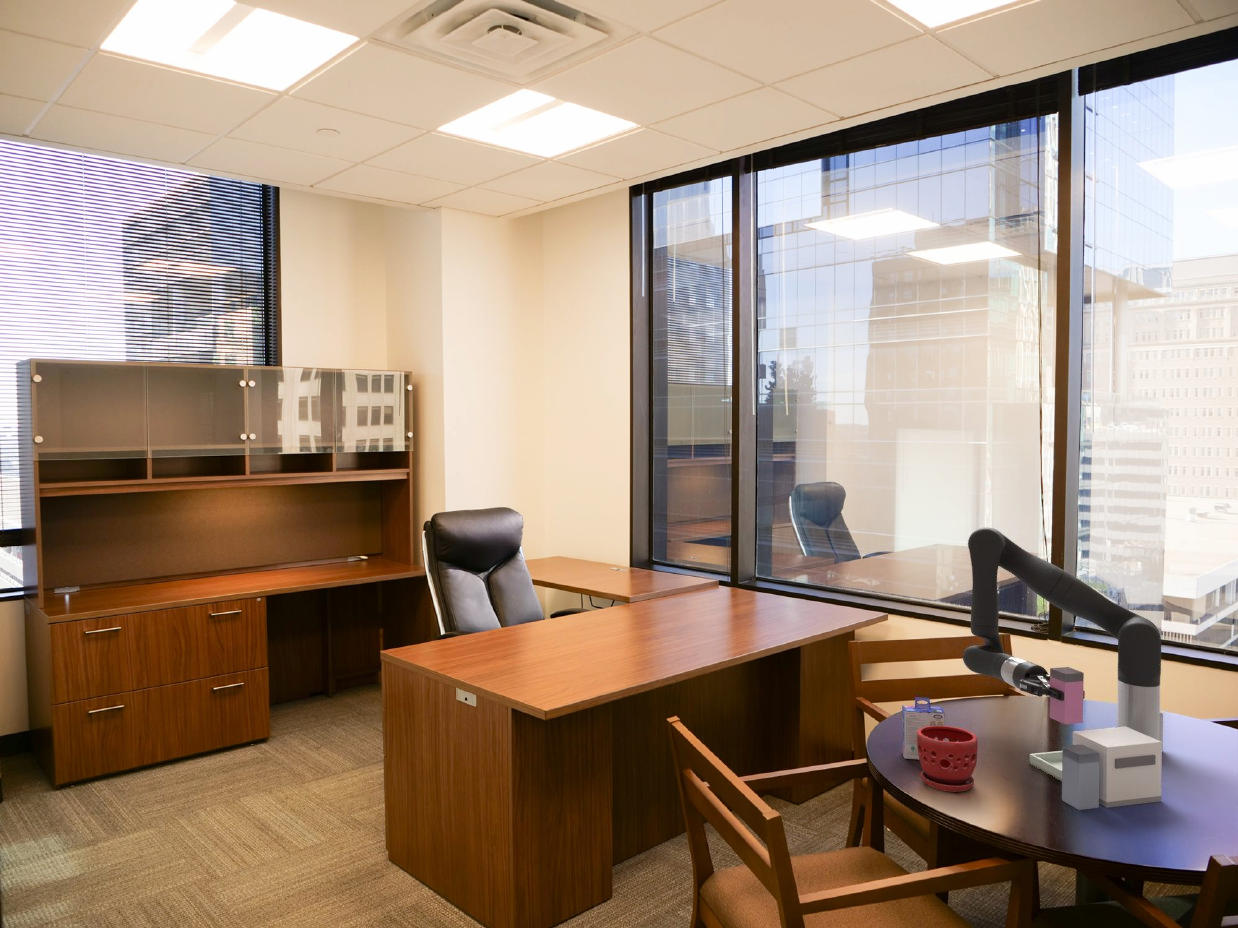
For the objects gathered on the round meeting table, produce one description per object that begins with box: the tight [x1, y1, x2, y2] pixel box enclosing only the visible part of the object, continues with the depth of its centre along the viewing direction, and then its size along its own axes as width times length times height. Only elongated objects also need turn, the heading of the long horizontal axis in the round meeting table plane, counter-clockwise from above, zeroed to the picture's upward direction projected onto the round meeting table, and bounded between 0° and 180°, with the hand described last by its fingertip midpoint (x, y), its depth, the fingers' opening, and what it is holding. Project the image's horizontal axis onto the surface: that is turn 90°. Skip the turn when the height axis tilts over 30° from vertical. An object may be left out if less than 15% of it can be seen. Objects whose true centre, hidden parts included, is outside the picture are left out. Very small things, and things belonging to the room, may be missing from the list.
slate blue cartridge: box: [1061, 744, 1100, 811], centre depth 183 cm, size 5×5×12 cm
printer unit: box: [1072, 726, 1163, 809], centre depth 187 cm, size 14×11×13 cm
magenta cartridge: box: [1048, 666, 1085, 725], centre depth 200 cm, size 5×5×12 cm
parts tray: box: [1029, 750, 1062, 783], centre depth 201 cm, size 11×11×2 cm
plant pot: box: [917, 725, 979, 793], centre depth 194 cm, size 13×13×12 cm
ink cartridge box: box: [901, 696, 946, 760], centre depth 210 cm, size 10×6×14 cm, turn 78°
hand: (1073, 695), depth 198 cm, fingers closed on magenta cartridge, 5 cm apart
